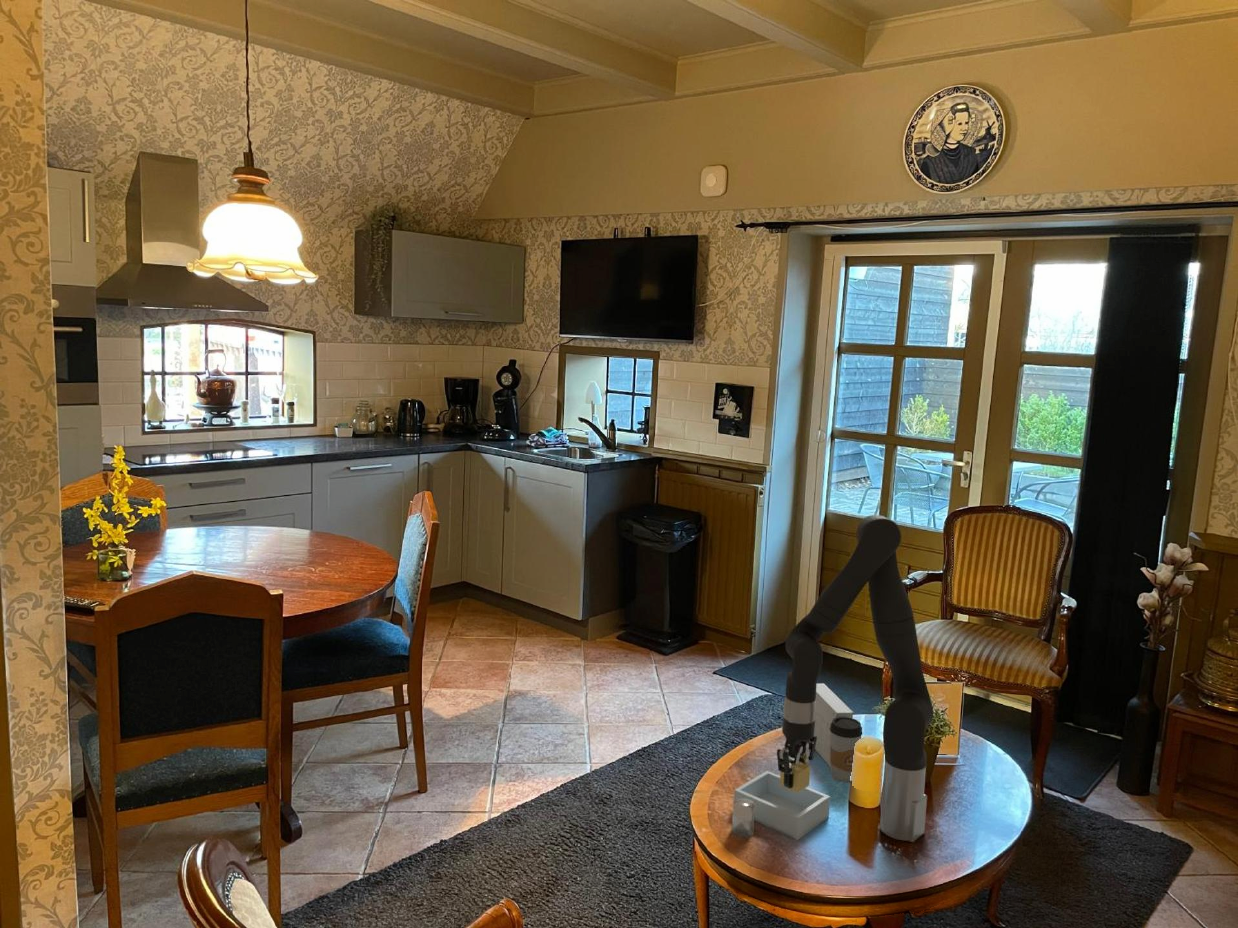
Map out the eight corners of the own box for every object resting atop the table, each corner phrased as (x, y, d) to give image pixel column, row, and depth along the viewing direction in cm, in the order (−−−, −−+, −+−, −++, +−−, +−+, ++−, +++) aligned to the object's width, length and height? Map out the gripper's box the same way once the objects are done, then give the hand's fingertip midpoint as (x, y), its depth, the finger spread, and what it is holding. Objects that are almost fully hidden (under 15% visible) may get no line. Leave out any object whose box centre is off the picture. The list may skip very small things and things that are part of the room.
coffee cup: (835, 785, 239) (839, 730, 237) (821, 770, 247) (824, 717, 245) (865, 782, 241) (868, 728, 239) (849, 767, 249) (853, 714, 247)
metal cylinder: (757, 831, 217) (759, 803, 216) (745, 839, 213) (746, 811, 212) (740, 823, 220) (741, 795, 219) (727, 831, 216) (728, 803, 215)
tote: (828, 817, 224) (830, 796, 223) (797, 839, 214) (798, 817, 213) (766, 790, 236) (767, 770, 235) (733, 810, 226) (734, 789, 225)
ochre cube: (791, 777, 225) (792, 758, 224) (809, 785, 222) (810, 765, 221) (779, 784, 221) (780, 765, 221) (797, 792, 218) (798, 772, 217)
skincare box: (850, 768, 249) (854, 712, 247) (831, 769, 248) (834, 713, 246) (820, 734, 270) (824, 681, 267) (803, 734, 269) (806, 682, 266)
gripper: (802, 702, 226) (797, 767, 229) (768, 719, 216) (764, 787, 219) (829, 711, 221) (824, 778, 224) (796, 729, 211) (791, 799, 214)
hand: (794, 782), depth 221 cm, fingers closed on ochre cube, 5 cm apart
